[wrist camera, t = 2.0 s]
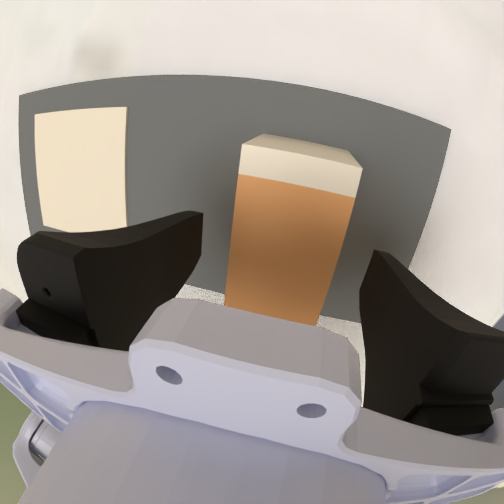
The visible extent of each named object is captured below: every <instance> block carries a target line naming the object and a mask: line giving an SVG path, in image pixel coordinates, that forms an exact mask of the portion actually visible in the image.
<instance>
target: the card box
mask: <svg viewBox="0 0 504 504" xmlns="http://www.w3.org/2000/svg"><path fill="white" fill-rule="evenodd" d="M362 169H363V168H362V167H361V166H360V164H359V163H358V162H357V161H356V159H355V158H354V157H353V156H352V155H351V153H350V152H349V151H348V150H344V149H340V148H335V147H331V146H327V145H322V144H317V143H313V142H308V141H303V140H298V139H292V138H287V137H281V136H276V135H270V134H262V135H260V136H258V137H255V138H253V139H251V140H249V141H247V142H245V143H243V144H242V148H241V156H240V164H239V172H238V181H237V189H236V197H235V206H234V215H233V224H232V233H231V242H230V252H229V261H228V271H227V281H226V291H225V301H224V306H227V307H231V308H235V309H240V310H244V311H248V312H252V313H256V314H261V315H265V316H270V317H274V318H279V319H283V320H288V321H292V322H297V323H302V324H307V325H312V326H316V324H317V321H318V318H319V315H320V312H321V310H322V307H323V304H324V301H325V298H326V295H327V292H328V289H329V286H330V283H331V280H332V277H333V274H334V271H335V267H336V264H337V261H338V258H339V254H340V251H341V248H342V244H343V241H344V238H345V234H346V231H347V227H348V224H349V220H350V216H351V213H352V209H353V205H354V201H355V197H356V194H357V190H358V186H359V182H360V177H361V173H362Z"/></svg>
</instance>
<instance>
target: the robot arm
mask: <svg viewBox="0 0 504 504" xmlns="http://www.w3.org/2000/svg"><path fill="white" fill-rule="evenodd" d="M203 215H204V213H202V212H196V211H191V210H189V211H183V212H179V213H175V214H172V215H168V216H165V217H162V218H158V219H155V220H151V221H148V222H144V223H140V224H137V225H132V226H128V227H123V228H117V229H111V230H102V231H93V232H50V231H38V232H36V233H35V234H33V235H32V236H30V237H29V238H27V239H26V240H24V241H23V242H21V244H20V245H19V246H18V251H17V264H18V268H19V272H20V275H21V278H22V281H23V284H24V287H25V290H26V293H27V296H28V298H29V299H28V300H26V301H25V302H24V303H22V301H21V300H20V299H19V298H18V297H17V296H15V295H13V294H12V293H10V292H9V291H7V290H5V289H1V290H0V382H1V383H2V384H3V385H4V386H5V387H6V388H8V389H9V390H10V391H11V392H12V393H13V394H14V395H15V396H16V397H18V398H19V399H20V400H21V401H22V402H23V403H24V404H25V405H27V406H28V407H29V408H30V409H32V411H31V413H30V414H29V416H28V417H27V419H26V421H25V422H24V424H23V426H22V428H21V430H20V434H19V435H18V437H17V439H16V441H15V442H14V443H13V449H14V450H13V451H12V454H13V457H14V460H15V462H16V464H17V467H18V469H19V471H20V473H21V476H22V477H23V480H24V481H25V484H26V486H27V488H26V490H25V492H24V494H23V495H22V497H21V499H20V501H19V502H18V504H447V503H452V502H455V501H459V500H462V499H466V498H469V497H473V496H476V495H479V494H482V493H484V492H486V491H488V490H490V489H491V488H493V487H495V486H497V485H498V484H500V483H501V482H503V481H504V408H501V409H497V410H495V411H493V412H491V411H490V407H489V405H491V404H492V402H493V400H494V399H493V396H492V392H493V390H494V389H495V388H496V387H497V386H498V385H499V384H500V382H501V381H502V380H503V379H504V332H503V331H500V330H498V329H495V328H493V327H490V326H488V325H486V324H484V323H482V322H480V321H478V320H476V319H474V318H472V317H470V316H468V315H467V314H465V313H463V312H462V311H460V310H459V309H457V308H455V307H454V306H452V305H451V304H449V303H448V302H446V301H445V300H444V299H442V298H441V297H440V296H438V295H437V294H436V293H434V292H433V291H432V290H431V289H429V288H428V287H427V286H426V285H425V284H424V283H422V282H421V281H420V280H419V279H418V278H417V277H416V276H415V275H414V274H412V273H411V272H410V271H409V270H408V269H407V268H406V267H405V266H404V265H403V264H402V263H400V262H399V261H398V260H397V259H396V258H395V257H393V256H392V255H391V254H389V253H388V252H383V251H379V250H375V249H374V251H373V254H372V257H371V260H370V263H369V265H368V268H367V271H366V273H365V276H364V279H363V281H362V284H361V287H360V289H359V311H360V318H361V325H362V332H363V339H364V347H365V358H366V369H365V391H364V402H363V407H361V404H362V397H361V377H360V362H359V354H358V353H357V351H356V350H355V348H354V347H353V345H352V344H351V343H350V341H349V340H348V338H346V337H343V336H341V335H339V334H336V333H334V332H332V331H329V330H327V329H325V328H322V327H317V326H312V325H307V324H302V323H297V322H292V321H288V320H283V319H279V318H274V317H270V316H265V315H261V314H256V313H252V312H248V311H244V310H240V309H235V308H231V307H227V306H223V305H219V304H215V303H212V302H208V301H204V300H200V299H183V298H175V296H176V295H177V294H178V292H179V291H180V289H181V288H182V287H183V285H184V284H185V282H186V281H187V280H188V278H189V277H190V275H191V274H192V272H193V271H194V269H195V267H196V265H197V263H198V261H199V259H200V257H201V250H202V231H203ZM38 454H39V455H40V456H41V457H42V458H44V459H45V461H44V460H43V459H42V458H41V457H40V456H38Z"/></svg>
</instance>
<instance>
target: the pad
mask: <svg viewBox="0 0 504 504" xmlns="http://www.w3.org/2000/svg"><path fill="white" fill-rule="evenodd" d="M127 122H128V107H105V108H88V109H76V110H65V111H56V112H48V113H40V114H35V156H36V170H37V181H38V190H39V199H40V206H41V213H42V219H43V225H44V226H48V227H52V228H55V229H59V230H62V231H66V232H93V231H102V230H111V229H117V228H123V227H128V215H127V185H126V151H127Z"/></svg>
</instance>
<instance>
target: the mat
mask: <svg viewBox="0 0 504 504" xmlns="http://www.w3.org/2000/svg"><path fill="white" fill-rule="evenodd" d="M105 107H128V122H127V151H126V185H127V215H128V226H132V225H137V224H140V223H144V222H148V221H151V220H155V219H158V218H162V217H165V216H168V215H172V214H175V213H179V212H183V211H189V210H191V211H196V212H202V213H204V215H203V231H202V250H201V257H200V259H199V261H198V263H197V265H196V267H195V269H194V271H193V272H192V274H191V275H190V277H189V278H188V280H187V281H186V282H185V284H187V285H191V286H195V287H199V288H203V289H207V290H211V291H215V292H219V293H223V294H225V291H226V281H227V271H228V261H229V252H230V242H231V233H232V224H233V215H234V206H235V197H236V189H237V181H238V172H239V164H240V156H241V148H242V144H243V143H245V142H247V141H249V140H251V139H253V138H255V137H258V136H260V135H262V134H270V135H276V136H281V137H287V138H292V139H298V140H303V141H308V142H313V143H317V144H322V145H327V146H331V147H335V148H340V149H344V150H348V151H349V152H350V153H351V155H352V156H353V157H354V158H355V159H356V161H357V162H358V163H359V164H360V166H361V167H362V168H363V169H362V173H361V177H360V182H359V186H358V190H357V194H356V197H355V201H354V205H353V209H352V213H351V216H350V220H349V224H348V227H347V231H346V234H345V238H344V241H343V244H342V248H341V251H340V254H339V258H338V261H337V264H336V267H335V271H334V274H333V277H332V280H331V283H330V286H329V289H328V292H327V295H326V298H325V301H324V304H323V307H322V310H321V312H320V315H323V316H328V317H333V318H338V319H343V320H349V321H354V322H359V323H361V318H360V311H359V289H360V287H361V284H362V281H363V279H364V276H365V273H366V271H367V268H368V265H369V263H370V260H371V257H372V254H373V251H374V249H375V250H379V251H383V252H388V253H389V254H391V255H392V256H393V257H395V258H396V259H397V260H398V261H399V262H400V263H402V264H403V265H404V266H405V267H406V268H407V269H408V267H409V265H410V262H411V260H412V257H413V255H414V252H415V250H416V247H417V245H418V242H419V239H420V237H421V234H422V231H423V228H424V226H425V223H426V220H427V217H428V214H429V211H430V208H431V205H432V202H433V198H434V195H435V192H436V188H437V185H438V182H439V178H440V174H441V171H442V167H443V163H444V159H445V155H446V151H447V147H448V142H449V138H450V133H451V129H449V128H447V127H444V126H442V125H439V124H437V123H434V122H432V121H429V120H427V119H424V118H421V117H419V116H416V115H413V114H410V113H407V112H404V111H401V110H398V109H395V108H392V107H389V106H386V105H382V104H379V103H376V102H372V101H368V100H365V99H361V98H357V97H353V96H349V95H345V94H341V93H337V92H332V91H327V90H323V89H318V88H313V87H307V86H302V85H296V84H289V83H283V82H276V81H268V80H260V79H250V78H240V77H226V76H208V75H153V76H135V77H122V78H111V79H103V80H95V81H87V82H81V83H74V84H69V85H63V86H58V87H53V88H48V89H44V90H39V91H35V92H31V93H27V94H23V95H19V151H20V165H21V176H22V185H23V193H24V200H25V207H26V213H27V219H28V224H29V229H30V234H31V236H32V235H33V234H35V233H36V232H38V231H50V232H66V231H62V230H59V229H55V228H52V227H48V226H44V225H43V219H42V213H41V206H40V199H39V190H38V181H37V170H36V156H35V114H40V113H48V112H56V111H65V110H76V109H88V108H105Z"/></svg>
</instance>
